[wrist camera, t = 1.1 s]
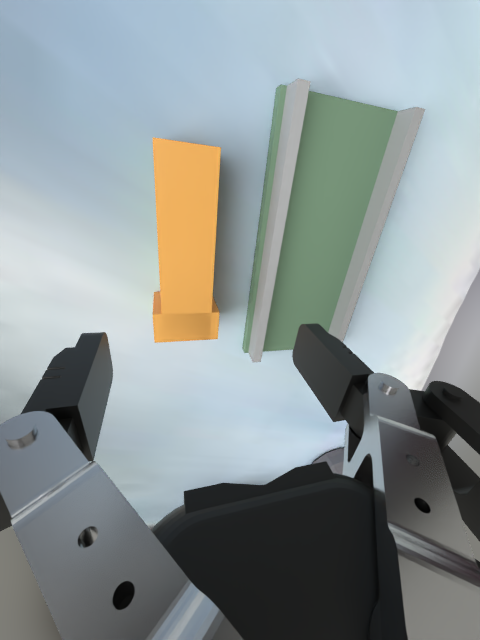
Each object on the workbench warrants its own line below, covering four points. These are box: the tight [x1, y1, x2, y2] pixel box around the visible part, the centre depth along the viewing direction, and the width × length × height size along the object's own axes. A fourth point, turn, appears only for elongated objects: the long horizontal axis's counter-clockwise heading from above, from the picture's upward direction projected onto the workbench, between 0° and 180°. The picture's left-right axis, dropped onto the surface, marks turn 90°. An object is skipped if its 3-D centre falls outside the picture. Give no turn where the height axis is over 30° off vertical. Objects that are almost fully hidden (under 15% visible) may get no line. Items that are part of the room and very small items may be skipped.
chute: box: [153, 138, 221, 342], centre depth 23 cm, size 16×6×5 cm, turn 174°
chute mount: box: [243, 79, 425, 362], centre depth 28 cm, size 26×13×3 cm, turn 174°
